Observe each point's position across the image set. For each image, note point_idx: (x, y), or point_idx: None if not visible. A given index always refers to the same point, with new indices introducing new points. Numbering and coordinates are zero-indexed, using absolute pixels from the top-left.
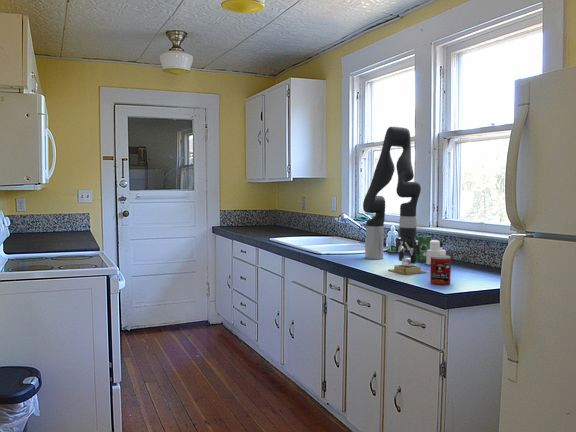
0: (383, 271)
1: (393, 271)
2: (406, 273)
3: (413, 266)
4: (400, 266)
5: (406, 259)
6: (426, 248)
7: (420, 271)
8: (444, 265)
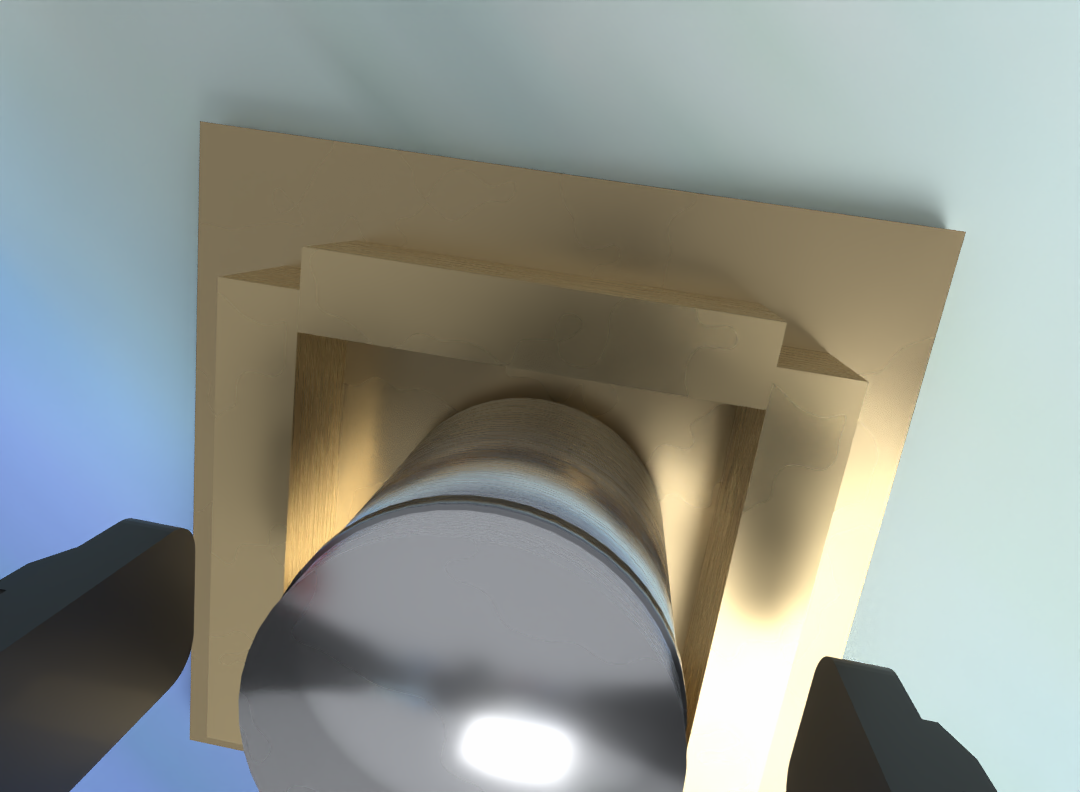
0: (971, 17)
1: (699, 194)
2: (202, 190)
3: None
4: (562, 370)
5: (316, 572)
6: None
7: None
8: None
